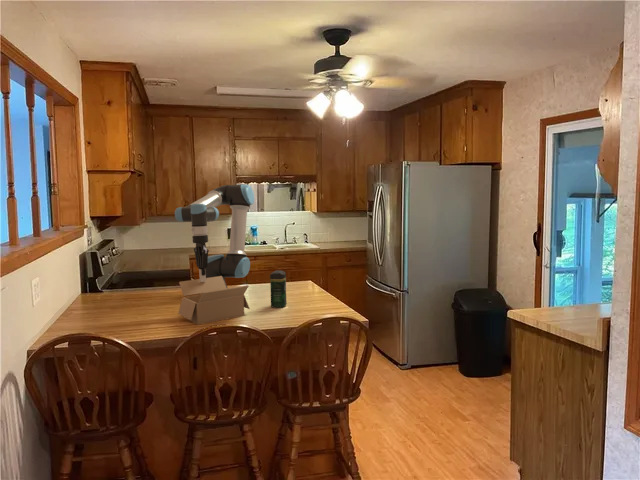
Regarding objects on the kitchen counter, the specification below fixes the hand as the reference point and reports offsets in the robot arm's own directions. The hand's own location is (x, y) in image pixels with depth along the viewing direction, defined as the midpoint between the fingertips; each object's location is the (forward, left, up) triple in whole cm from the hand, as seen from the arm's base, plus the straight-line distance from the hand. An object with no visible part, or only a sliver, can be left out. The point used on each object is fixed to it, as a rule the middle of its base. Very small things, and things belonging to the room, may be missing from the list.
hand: (202, 281), depth 256 cm
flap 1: (+3, 0, -5) cm, 6 cm away
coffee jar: (+15, +35, -16) cm, 41 cm away
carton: (+12, 0, -16) cm, 20 cm away
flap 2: (+21, 0, -5) cm, 21 cm away
